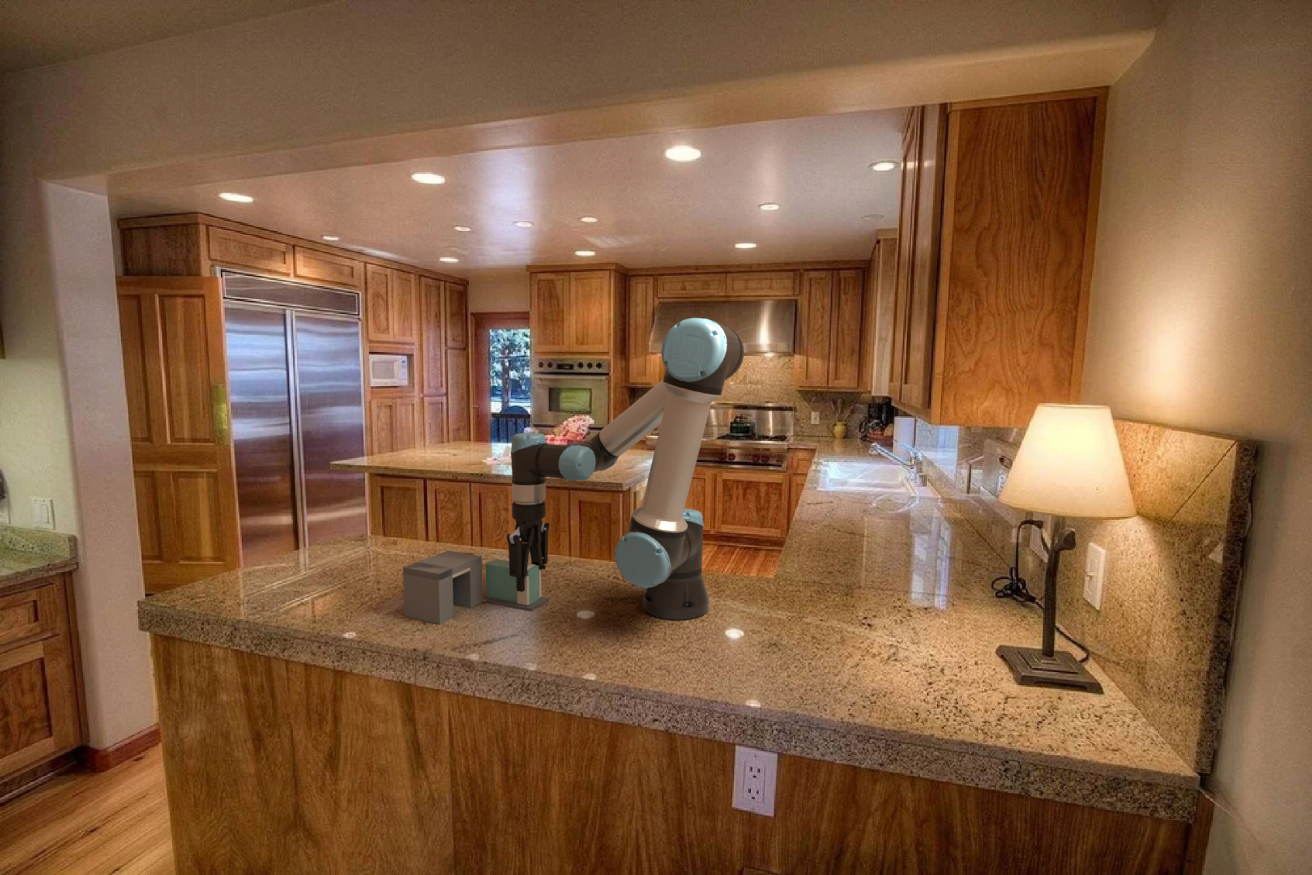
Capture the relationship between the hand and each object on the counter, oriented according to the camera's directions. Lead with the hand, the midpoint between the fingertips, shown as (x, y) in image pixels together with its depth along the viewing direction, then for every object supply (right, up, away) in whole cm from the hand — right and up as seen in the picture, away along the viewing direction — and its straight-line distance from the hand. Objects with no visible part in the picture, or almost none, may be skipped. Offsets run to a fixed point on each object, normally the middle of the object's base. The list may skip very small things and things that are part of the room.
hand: (529, 599), depth 132 cm
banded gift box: (-4, 0, +2) cm, 5 cm away
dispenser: (-18, -1, -4) cm, 19 cm away
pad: (-3, -1, +1) cm, 4 cm away
